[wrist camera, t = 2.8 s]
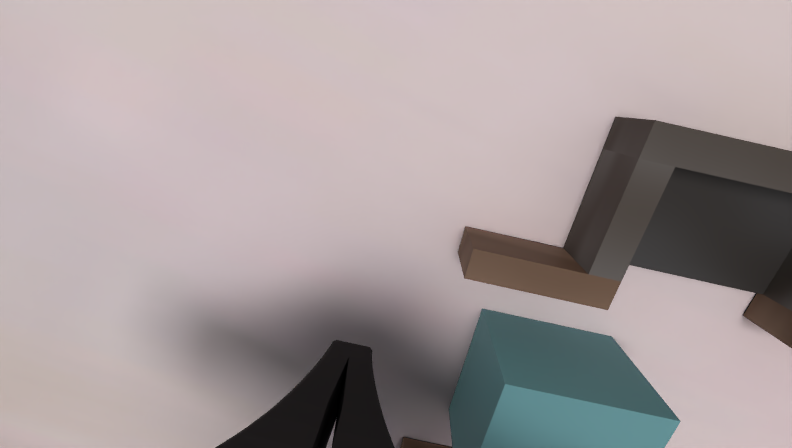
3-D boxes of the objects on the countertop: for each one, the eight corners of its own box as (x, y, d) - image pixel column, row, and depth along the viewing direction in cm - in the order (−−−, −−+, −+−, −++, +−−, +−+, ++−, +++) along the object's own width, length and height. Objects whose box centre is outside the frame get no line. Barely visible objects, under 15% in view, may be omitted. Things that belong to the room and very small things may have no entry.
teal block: (563, 431, 16) (609, 537, 12) (448, 407, 16) (458, 505, 12) (609, 334, 14) (680, 421, 10) (481, 306, 14) (505, 383, 10)
